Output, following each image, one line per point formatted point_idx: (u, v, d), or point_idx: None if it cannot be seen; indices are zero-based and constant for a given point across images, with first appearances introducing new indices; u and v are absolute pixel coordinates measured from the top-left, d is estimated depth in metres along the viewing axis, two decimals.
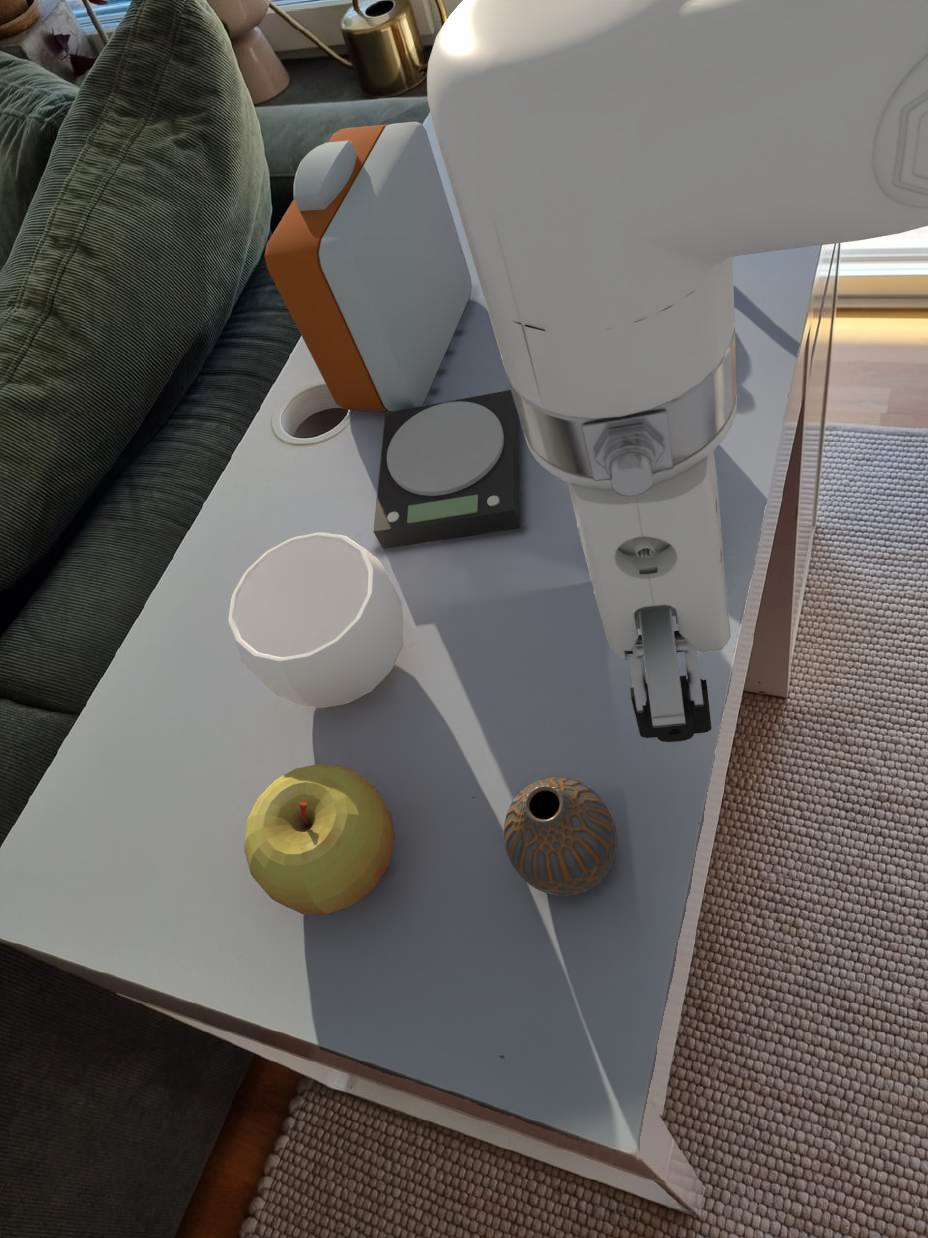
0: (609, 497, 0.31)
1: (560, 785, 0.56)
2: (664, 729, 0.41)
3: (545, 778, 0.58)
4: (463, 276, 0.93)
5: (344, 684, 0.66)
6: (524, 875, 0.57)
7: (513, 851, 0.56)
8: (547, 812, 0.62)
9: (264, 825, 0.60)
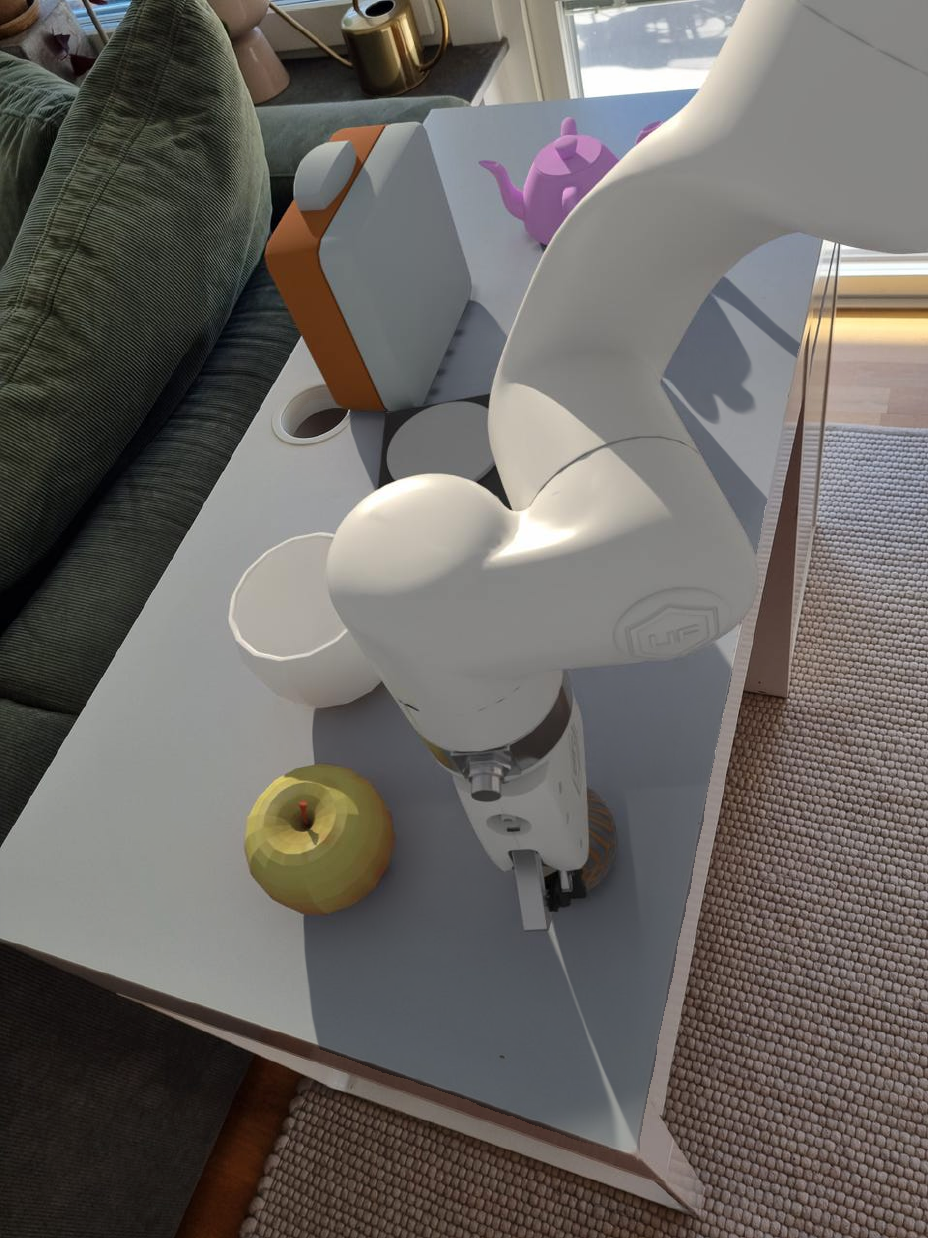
0: None
1: None
2: None
3: None
4: (463, 276, 0.93)
5: (344, 684, 0.66)
6: None
7: None
8: None
9: (264, 825, 0.60)
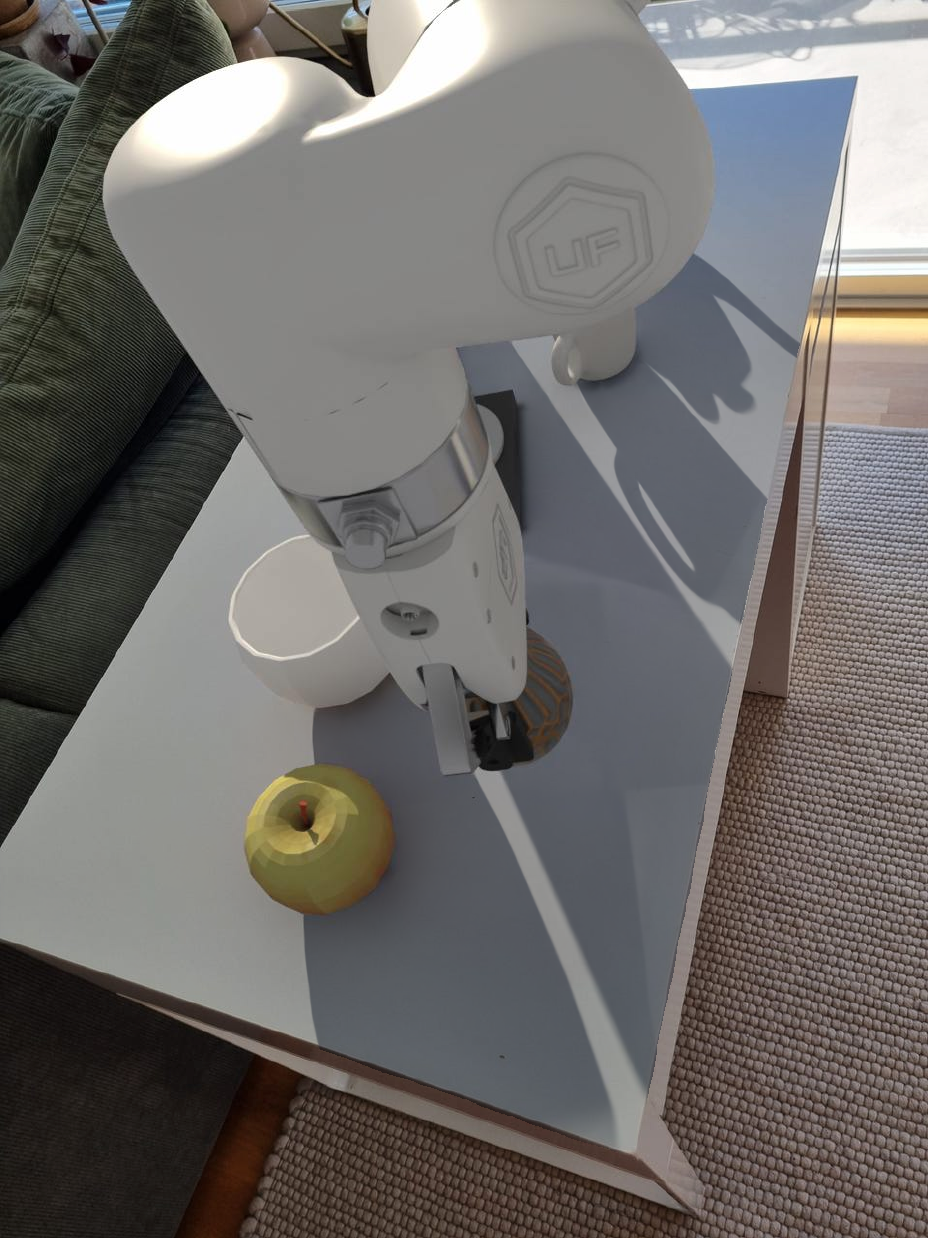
0: None
1: None
2: (483, 760, 0.43)
3: None
4: None
5: (344, 684, 0.66)
6: None
7: None
8: None
9: (264, 825, 0.60)
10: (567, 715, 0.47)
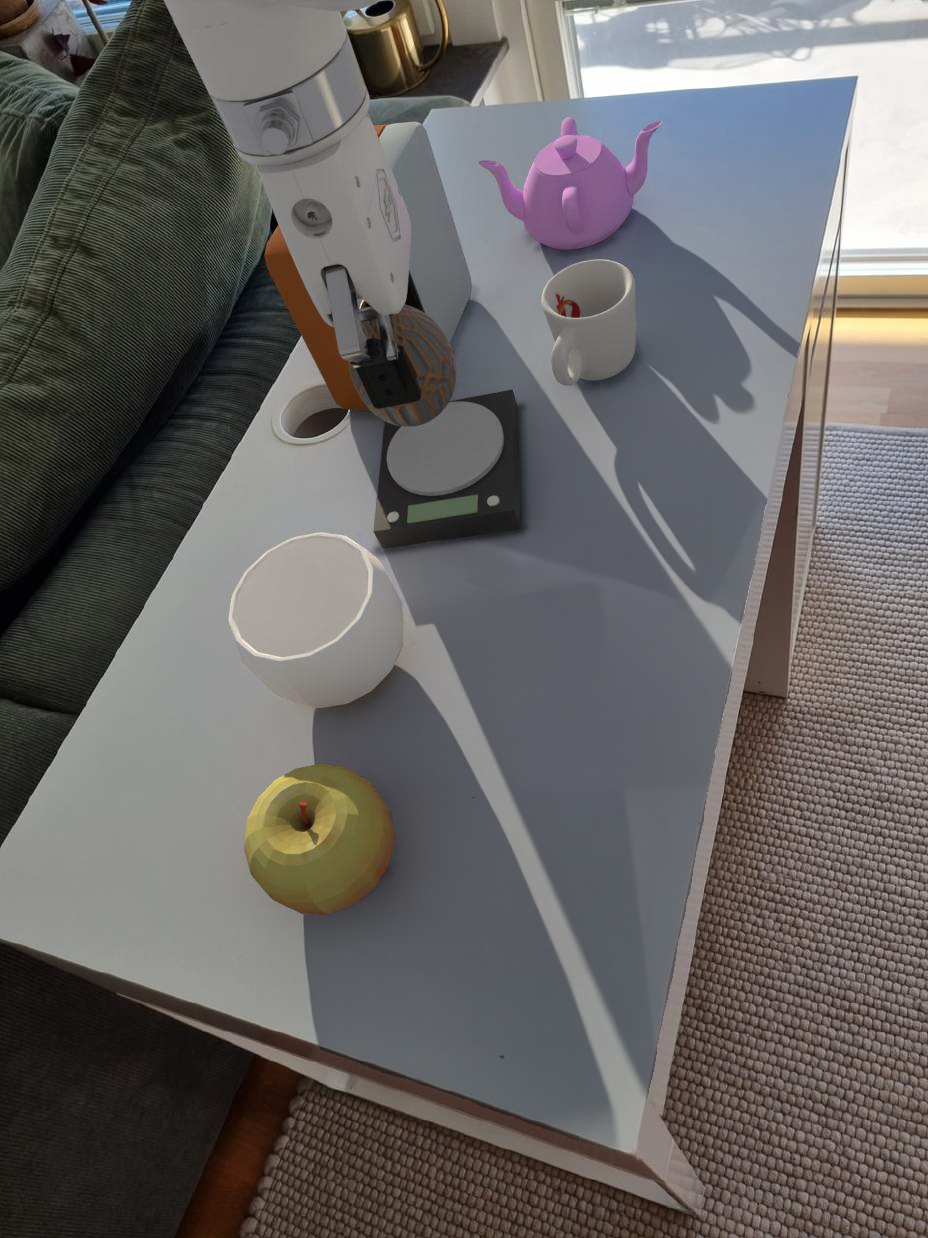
0: (277, 169, 0.47)
1: None
2: (380, 389, 0.58)
3: None
4: (463, 276, 0.93)
5: (344, 684, 0.66)
6: (365, 390, 0.61)
7: None
8: None
9: (264, 825, 0.60)
10: (449, 377, 0.61)
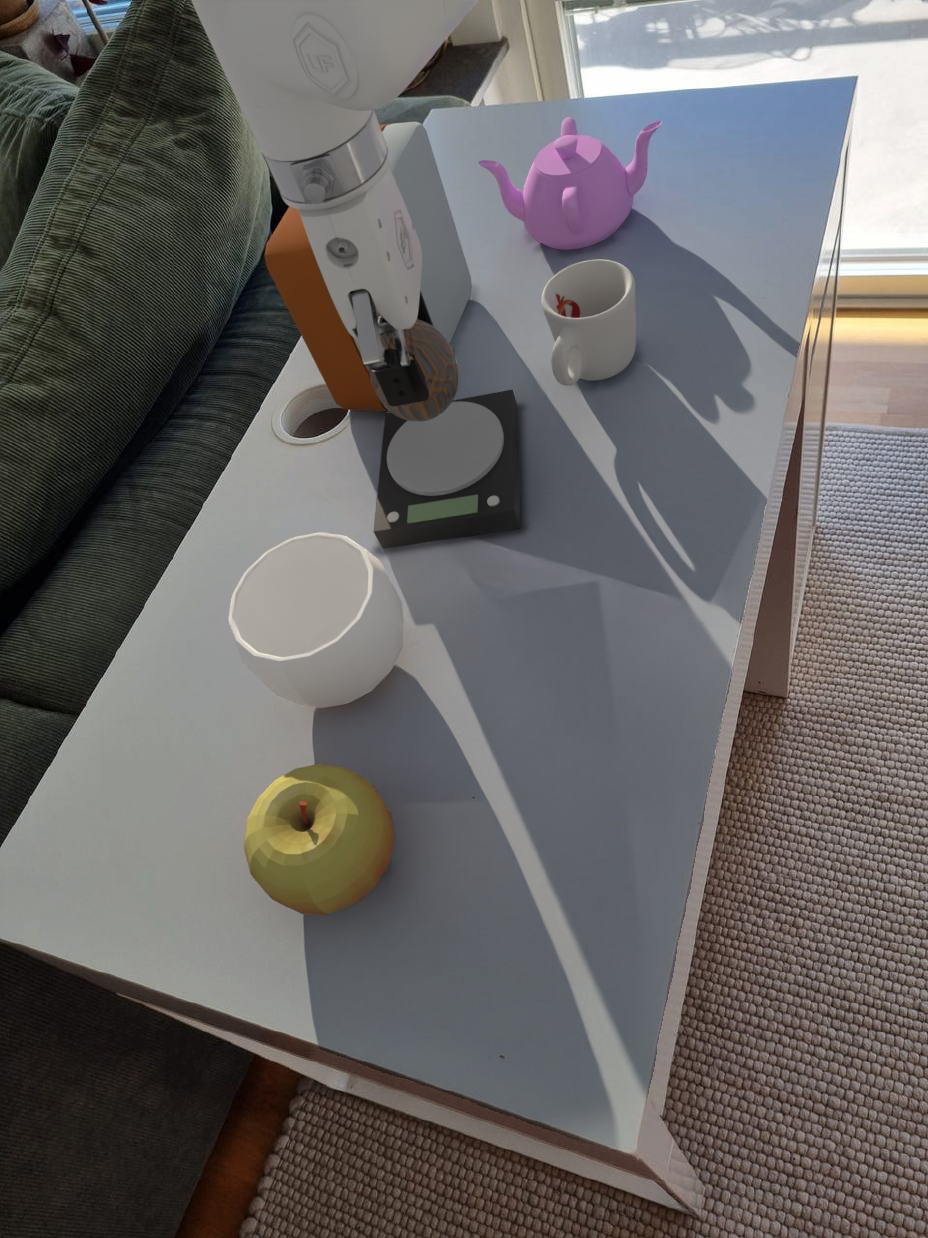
0: (315, 213, 0.58)
1: None
2: (395, 390, 0.69)
3: None
4: (463, 276, 0.93)
5: (344, 684, 0.66)
6: None
7: None
8: None
9: (264, 825, 0.60)
10: (452, 380, 0.73)
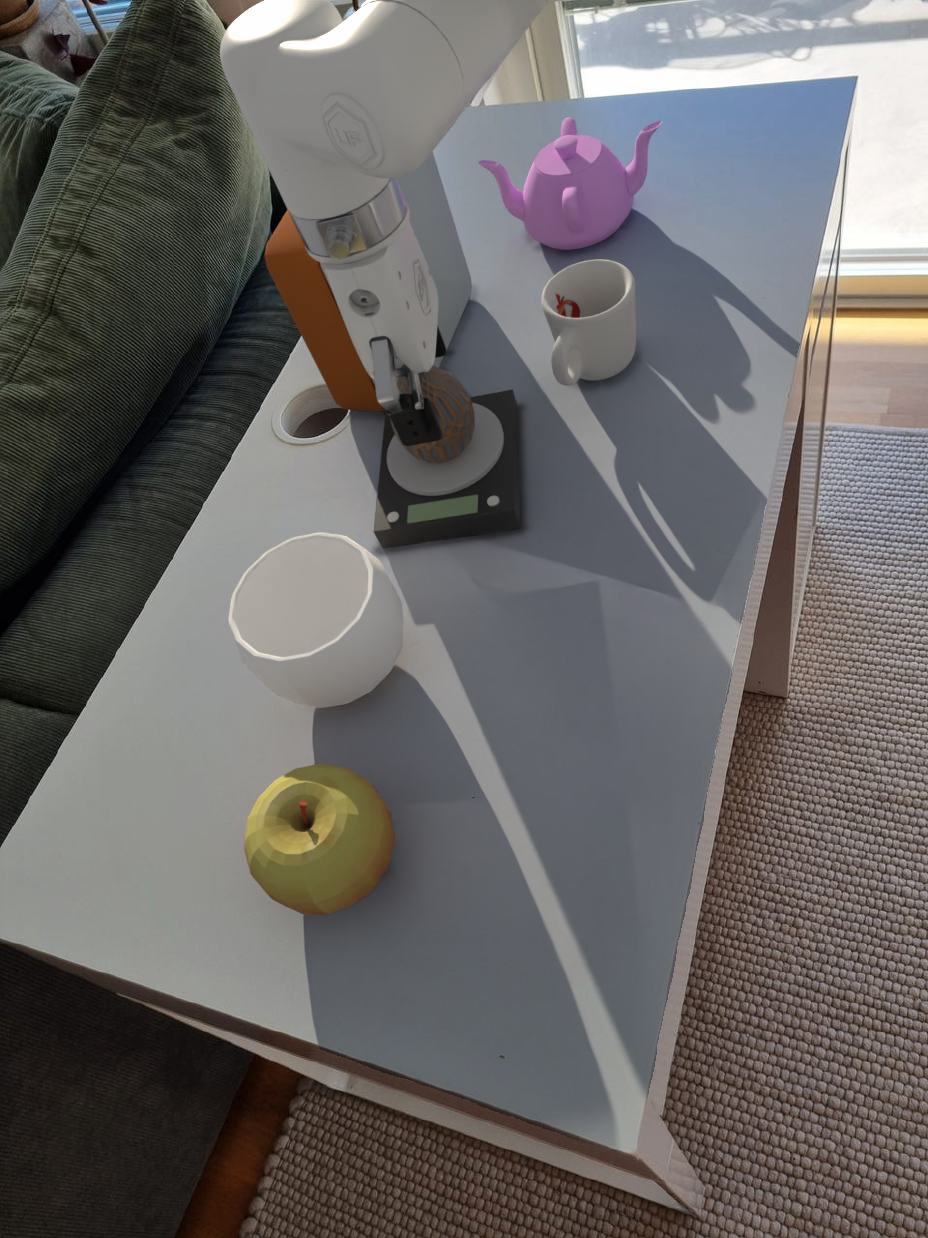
0: (339, 267, 0.62)
1: None
2: (409, 431, 0.71)
3: None
4: (463, 276, 0.93)
5: (344, 684, 0.66)
6: None
7: None
8: None
9: (264, 825, 0.60)
10: (469, 424, 0.77)
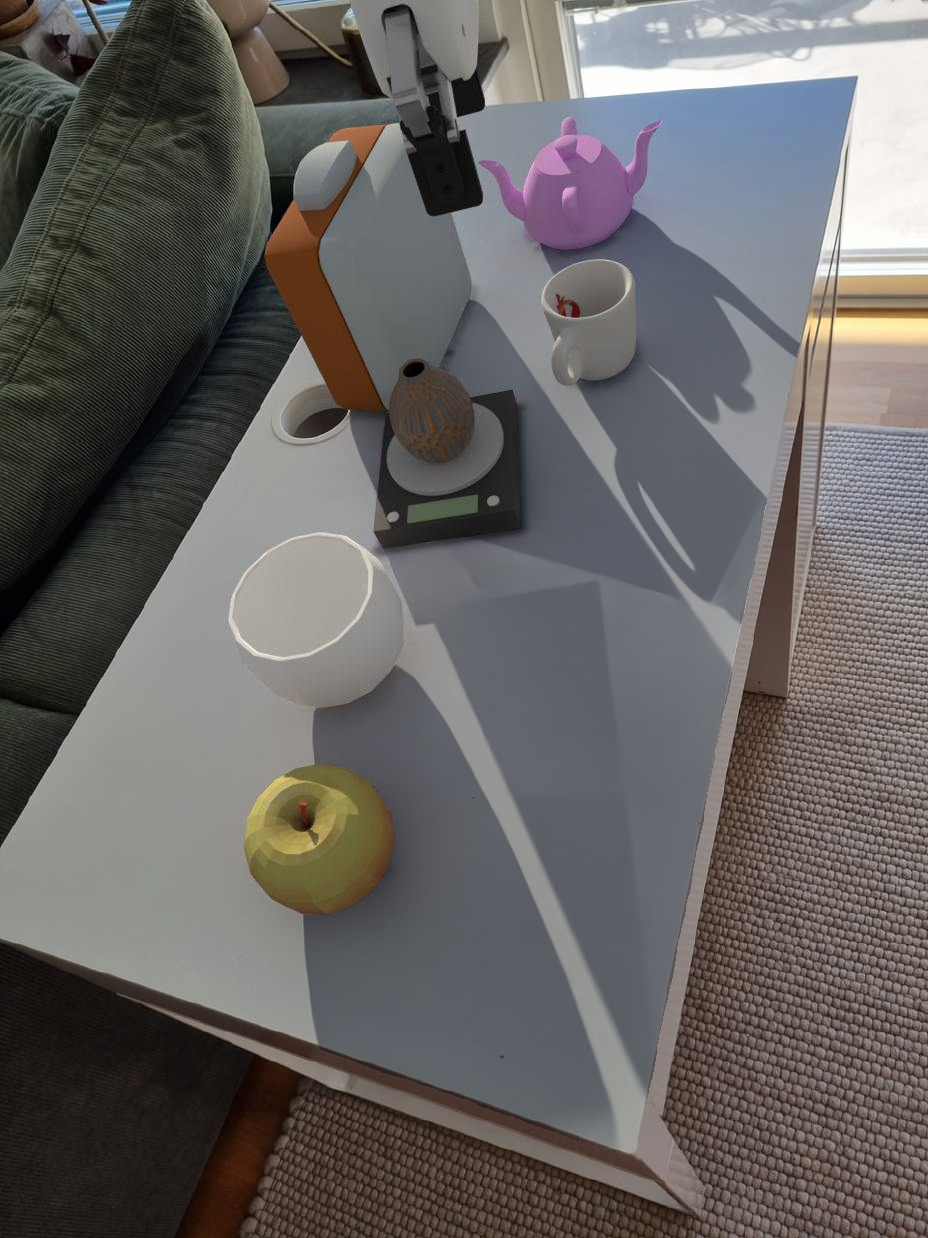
0: None
1: None
2: (437, 185, 0.50)
3: (420, 370, 0.78)
4: (463, 276, 0.93)
5: (344, 684, 0.66)
6: (402, 435, 0.76)
7: (394, 415, 0.76)
8: None
9: (264, 825, 0.60)
10: (469, 424, 0.77)
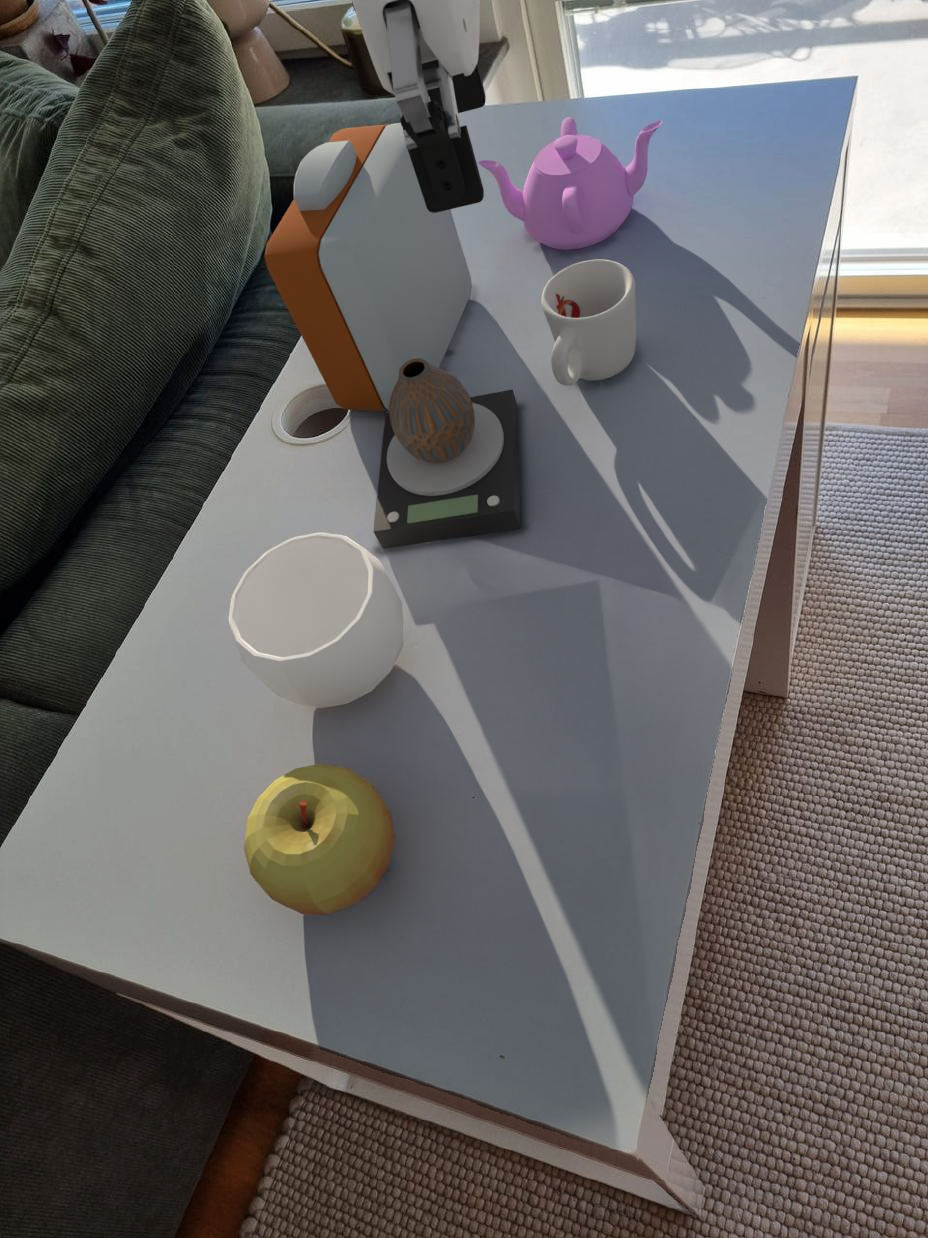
0: None
1: None
2: (437, 181, 0.49)
3: (420, 370, 0.78)
4: (463, 276, 0.93)
5: (344, 684, 0.66)
6: (402, 435, 0.76)
7: (394, 415, 0.76)
8: None
9: (264, 825, 0.60)
10: (469, 424, 0.77)
